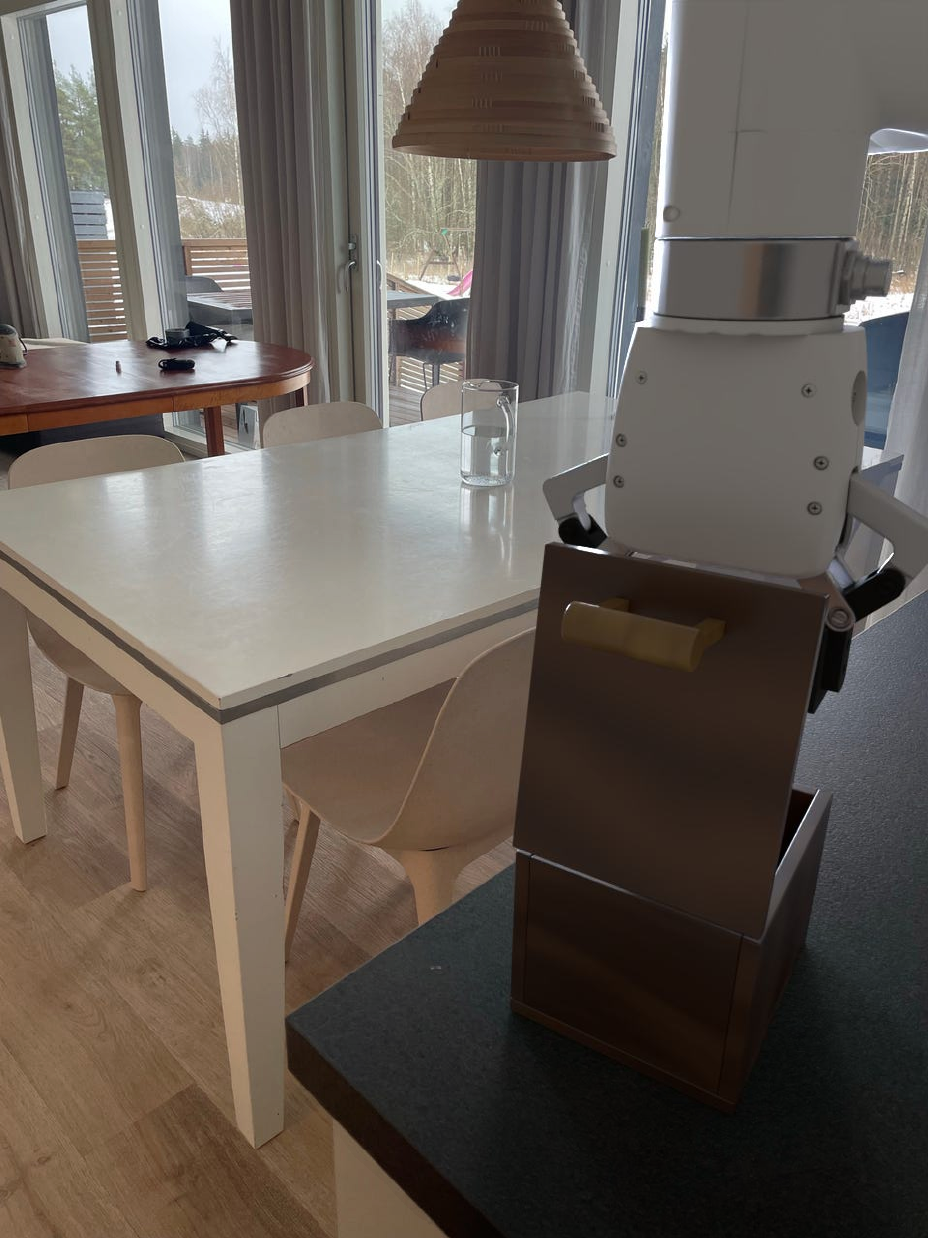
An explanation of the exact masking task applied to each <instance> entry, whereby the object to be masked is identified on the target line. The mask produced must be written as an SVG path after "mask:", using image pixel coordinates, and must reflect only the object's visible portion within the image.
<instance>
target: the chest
mask: <svg viewBox="0 0 928 1238" xmlns="http://www.w3.org/2000/svg"><path fill="white" fill-rule="evenodd" d="M833 799H834V793H832V792H829V791H825V790H822V789H818V788H816V787H812V786H808V785H806V784H803V783H799V782H795V781H794V782H793V788H792V793H791V798H790V803H789V808H788V813H787V818H786V823H785V828H784V833H783V839H782V844H781V849H780V854H779V859H778V864H777V869H776V874H775V879H774V884H773V890H772V895H771V900H770V905H769V910H768V915H767V920H766V925H765V930H764V933H763V935H762V937H761V938H760V940H756V939H754V938H751V937H749V936H746V935H743V934H741V933H738V932H735V931H733V930H730V929H728V928H725V927H722V926H720V925H717V924H714V923H712V922H709V921H706V920H704V919H701V918H699V917H696V916H693V915H691V914H688V913H685V912H683V911H680V910H678V909H675V908H672V907H670V906H667V905H664V904H662V903H659V902H657V901H654V900H651V899H649V898H646V897H643V896H641V895H638V894H636V893H633V892H630V891H628V890H625V889H622V888H620V887H617V886H615V885H612V884H609V883H607V882H604V881H601V880H599V879H596V878H594V877H591V876H588V875H586V874H583V873H580V872H578V871H575V870H573V869H570V868H567V867H565V866H562V865H559V864H557V863H554V862H552V861H549V860H546V859H544V858H541V857H538V856H536V855H533V854H531V853H528V852H525V851H523V850H520V849H517V850H516V851H515V866H514V868H515V869H514V891H513V892H514V893H513V918H512V919H513V920H512V945H511V969H510V970H511V972H510V995H509V997H510V998H509V1010H510V1011H511V1012H513V1013H516V1014H517V1015H520V1016H523V1018H526V1019H528V1020H530V1021H532V1022H534V1023H536V1024H538V1025H541V1026H543V1027H545V1028H546V1029H549V1030H550V1031H552V1032H555V1033H557V1034H559V1035H562V1036H563V1037H566V1038H567V1039H570V1040H572V1041H574V1042H576V1043H578V1044H580V1045H583V1046H584V1047H586V1048H588V1049H591V1050H592V1051H595V1052H597V1053H599V1054H601V1055H603V1056H604V1057H607V1058H609V1059H611V1060H614V1061H615V1062H618V1063H620V1064H622V1065H624V1066H626V1067H628V1068H630V1069H632V1070H634V1071H636V1072H638V1073H641V1074H642V1075H644V1076H647V1077H648V1078H650V1079H653V1080H655V1081H657V1082H659V1083H661V1084H663V1085H666V1086H668V1087H669V1088H672V1089H673V1090H676V1091H678V1092H680V1093H682V1094H684V1095H686V1096H688V1097H690V1098H693V1099H695V1100H697V1101H699V1102H701V1103H703V1104H705V1105H707V1106H709V1107H711V1108H713V1109H715V1110H718V1111H719V1112H721V1113H724V1114H726V1115H728V1116H730V1117H732V1116H734V1113H735V1110H736V1108H737V1106H738V1103H739V1101H740V1098H741V1096H742V1094H743V1092H744V1089H745V1087H746V1085H747V1083H748V1080H749V1078H750V1075H751V1072H752V1070H753V1068H754V1065H755V1063H756V1061H757V1058H758V1056H759V1053H760V1051H761V1049H762V1046H763V1044H764V1042H765V1039H766V1036H767V1034H768V1033H769V1030H770V1028H771V1025H772V1022H773V1020H774V1018H775V1015H776V1013H777V1010H778V1009H779V1006H780V1003H781V1001H782V1000H783V999H782V998H783V996H784V994H785V991H786V989H787V986H788V984H789V982H790V979H791V977H792V975H793V973H794V970H795V967H796V965H797V963H798V961H799V958H800V956H801V953H802V951H803V948H804V946H805V943H806V942H807V937H808V930H809V925H810V921H811V915H812V910H813V905H814V899H815V894H816V889H817V883H818V878H819V874H820V873H819V872H820V868H821V863H822V862H821V861H822V857H823V851H824V848H825V847H824V846H825V841H826V837H827V830H828V825H829V820H830V816H831V815H830V814H831V809H832V804H833Z"/></svg>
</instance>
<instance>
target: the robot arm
mask: <svg viewBox="0 0 928 1238" xmlns="http://www.w3.org/2000/svg"><path fill="white" fill-rule="evenodd" d="M668 24H669V26H668V39H667V40H668V43H667V55H666V56H667V58H666V71H665V72H666V74H665V87H664V88H665V90H664V102H663V103H664V105H663V119H662V135H661V148H660V164H659V165H660V166H659V178H658V179H659V180H658V181H659V183H658V195H657V209H656V210H657V211H656V225H655V238H657V239H655V241H654V251H653V253H654V254H653V268H652V281H651V282H652V283H651V295H650V297H651V298H650V312H649V319H646V320H643V321H639V322H636V323H635V326H634V329H633V332H632V335H631V339H630V343H629V346H628V351H627V355H626V358H625V363H624V367H623V371H622V375H621V380H620V384H619V389H618V394H617V398H616V404H615V411H614V415H613V420H612V421H613V424H612V427H611V434H610V436H611V437H610V440H609V441H610V443H609V451H608V452H607V453H605V454H603V455H601V456H598V457H596V458H594V459H592V460H588V461H587V462H585V463H582V464H579V465H577V466H574V467H572V468H570V469H568V470H565V471H563V472H561V473H558V474H556V475H553V476H552V477H550V478H547V479H546V480H544V482H543V483H542V492H543V495H544V498H545V500H546V502H547V505H548V507H549V510H550V512H551V515H552V517H553V519H554V521H556V522H557V525H558V528H557V534H558V537H559V539H560V540H561V541H562V543H564V544H569V545H575V546H580V547H585V548H590V549H596V550H601V551H606V552H611V553H617V554H622V555H627V556H632V557H634V555H635V554H636V553H637V554H641V555H646V556H650V557H654V558H655V557H656V558H661V559H666V560H673V561H678V562H683V563H689V564H692V565H693V564H694V565H699V566H704V567H710V568H717V569H722V570H727V571H733V572H740V573H744V574H751V575H757V576H763V577H768V578H776V579H785V580H795V581H796V582H797V584H798V585H799V587H800V589H806V590H811V591H816V592H821V593H827V594H829V595H830V599H829V604H828V609H827V614H826V619H825V624H824V629H823V634H822V640H821V645H820V650H819V655H818V660H817V665H816V670H815V675H814V680H813V685H812V691H811V696H810V701H809V706H808V711H807V714H811V715H815V714H816V712H817V710H818V709H819V707H820V705H821V704H822V702H823V700H824V699H825V697H826V695H827V694H828V692H832V693H837V694H839V693H840V692H841V690H842V688H843V686H844V682H845V679H846V675H847V669H848V663H849V657H850V652H851V646H852V639H853V633H854V627H855V624H857V623H858V622H860V621H862V620H863V619H864V618H867V617H868V616H871V614H873V613H875V612H876V611H878V610H880V609H881V608H883V607H885V606H887V605H888V604H890V603H892V602H893V601H895V600H897V599H898V598H899V597H900V596H901V595H902V594H903V592H904V591H905V589H907V588H908V586H910V584H911V583H912V582H913V581H914V580H915V579H916V578H917V576H919V574H920V573H921V572H922V571H923V570H924V569H925V567H927V565H928V517H926V516H925V515H923V514H921V513H920V512H918V511H917V510H916V509H914V508H912V507H911V506H909V505H907V504H906V503H904V502H903V501H902V500H900V499H898V498H897V497H895V496H893V495H892V494H891V493H889V492H888V491H886V490H884V489H883V488H881V487H880V486H878V485H877V484H875V483H874V482H872V481H870V480H869V479H867V477H865V476H863V475H862V469H863V468H862V467H863V459H864V457H863V456H864V447H865V436H866V434H865V433H866V421H867V401H868V400H867V399H868V350H867V349H868V348H867V347H868V346H867V335H866V334H867V333H866V328H865V327H863V326H859V325H855V324H854V325H851V324H845V318H846V315H845V314H846V313H848V312H850V311H851V307H852V305H856V302H857V301H866V299H867V297H869V298H887V296H888V294H889V292H890V288H891V285H892V281H893V280H892V278H893V273H894V272H893V271H894V260H893V259H891V258H889V259H885V258H884V259H883V258H881V259H879V258H875V259H874V258H873V256H872V255H870V254H864V250H860V244H861V240H855V238H853V237H857V232H858V225H859V219H860V212H861V206H862V205H861V204H862V197H863V191H864V184H865V176H866V169H867V163H868V156H870V155H877V154H878V155H879V154H888V153H889V154H890V153H899V154H908V153H909V154H910V153H918V152H927V151H928V0H670V9H669V23H668ZM603 485H605V488H604V505H603V506H604V507H603V508H604V509H603V510H604V511H603V513H604V514H603V515H604V527H605V531H606V532H605V531H604V529H603V528H602V527H601V526H600V525H599V523H598V522H597V520H596V519H595V518H594V517H593V516H592V515H591V514H590V513H588V511H587V505H586V502H585V499H584V498H585V493H586V492H588V491H590V490H592V489H595V488H598V487H600V486H603ZM856 521H858V522H860V523H861V524H862V525H865V526H866V527H867V528H869V529H870V530H872V531H874V532H875V533H876V534H878V535H879V536H881V537H882V538H884V539H885V540H887V541H888V542H889V543H890V544H891V546H892V549H893V551H892V553H891V555H890V556H889V557H888V558H887V559H886V560H885V562H884V563H882V565H880V566H878V567H877V568H875V569H874V570H872V571H870V572H869V573H867V574H865V575H864V576H862V577H861V578H859V579H858V577H857V576H856V575H855V573H854V572H853V570H852V568H851V567H850V566H849V564H848V563H847V562H846V559H845V558H844V557H843V556H842V554H841V552H840V551H842V550H846V549H847V547H848V546H849V544H850V543H851V539H852V536H853V533H854V529H855V528H854V527H855V523H856Z"/></svg>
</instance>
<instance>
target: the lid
mask: <svg viewBox="0 0 928 1238" xmlns="http://www.w3.org/2000/svg"><path fill="white" fill-rule="evenodd" d="M540 577H541V578H540V588H539V597H538V605H537V615H536V624H535V633H534V634H535V635H534V641H533V651H532V660H531V669H530V670H531V671H530V679H529V688H528V698H527V705H526V706H527V707H526V716H525V724H524V725H525V726H524V735H523V741H522V742H523V744H522V751H521V762H520V769H519V770H520V771H519V781H518V789H517V798H516V806H515V807H516V808H515V816H514V826H513V835H512V844H511V845H512V847H513V848H515V849H517V850H518V849H520V850H523V851H525V852H528V853H531V854H533V855H536V856H538V857H541V858H544V859H546V860H549V861H552V862H554V863H557V864H559V865H562V866H565V867H567V868H570V869H573V870H575V871H578V872H580V873H583V874H586V875H588V876H591V877H594V878H596V879H599V880H601V881H604V882H607V883H609V884H612V885H615V886H617V887H620V888H622V889H625V890H628V891H630V892H633V893H636V894H638V895H641V896H643V897H646V898H649V899H651V900H654V901H657V902H659V903H662V904H664V905H667V906H670V907H672V908H675V909H678V910H680V911H683V912H685V913H688V914H691V915H693V916H696V917H699V918H701V919H704V920H706V921H709V922H712V923H714V924H717V925H720V926H722V927H725V928H728V929H730V930H733V931H735V932H738V933H741V934H743V935H746V936H749V937H751V938H754V939H756V940H760V938H761V937H762V935H763V933H764V930H765V925H766V920H767V915H768V910H769V905H770V900H771V895H772V890H773V884H774V879H775V874H776V869H777V864H778V859H779V854H780V849H781V844H782V839H783V833H784V828H785V823H786V818H787V813H788V808H789V803H790V798H791V793H792V788H793V782H795V778H796V777H795V776H796V772H797V767H798V762H799V756H800V751H801V746H802V741H803V736H804V731H805V727H806V721H807V715H808V713H807V711H808V706H809V701H810V696H811V691H812V685H813V680H814V675H815V670H816V665H817V660H818V655H819V650H820V645H821V640H822V634H823V629H824V624H825V619H826V614H827V609H828V604H829V599H830V595H829V594H827V593H821V592H816V591H811V590H806V589H802V588H801V587H794V586H789V585H785V584H779V583H773V582H768V581H765V580H764V581H762V580H758V579H752V578H747V577H741V576H737V575H731V574H726V573H721V572H716V571H712V570H706V569H700V568H695V567H691V566H685V565H679V564H673V563H669V562H664V561H659V560H652V559H647V558H642V557H638V556H627V555H622V554H617V553H611V552H606V551H601V550H596V549H590V548H585V547H580V546H575V545H569V544H564V543H563V542H558V541H550V542H547V543H545V544H544V551H543V559H542V569H541V576H540Z"/></svg>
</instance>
